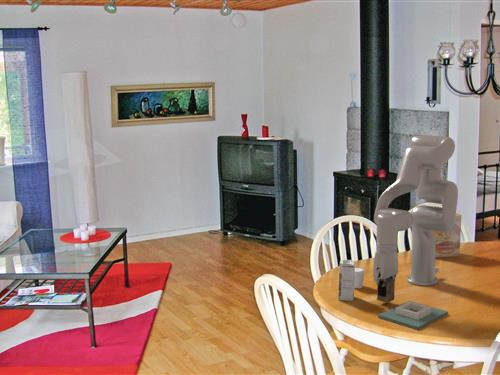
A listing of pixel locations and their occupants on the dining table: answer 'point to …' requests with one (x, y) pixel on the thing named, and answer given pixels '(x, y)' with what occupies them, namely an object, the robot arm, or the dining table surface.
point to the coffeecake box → (449, 240)
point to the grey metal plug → (387, 290)
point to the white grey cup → (358, 277)
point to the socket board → (413, 314)
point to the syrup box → (346, 280)
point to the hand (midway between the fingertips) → (385, 293)
